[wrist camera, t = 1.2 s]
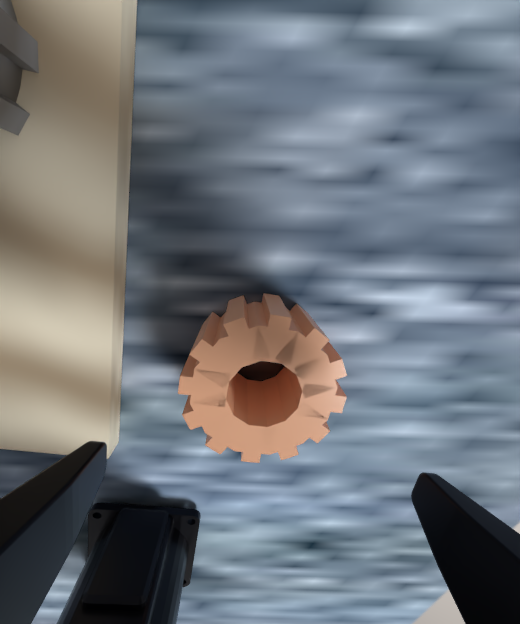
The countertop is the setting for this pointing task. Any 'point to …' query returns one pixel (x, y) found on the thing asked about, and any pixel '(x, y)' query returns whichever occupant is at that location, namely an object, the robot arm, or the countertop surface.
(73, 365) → the gear board
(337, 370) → the coral gear
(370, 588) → the countertop surface
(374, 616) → the countertop surface
